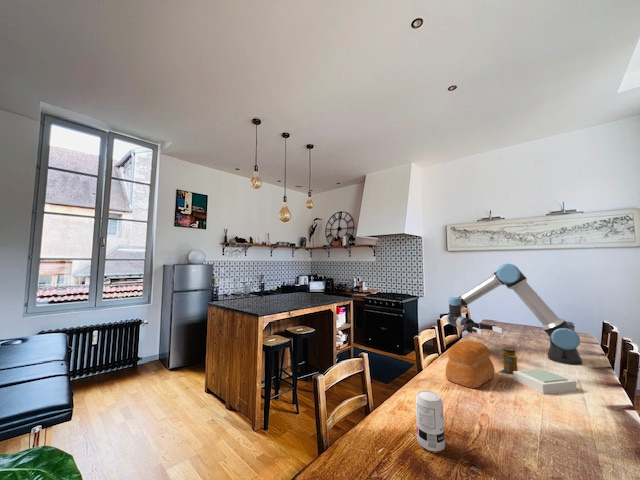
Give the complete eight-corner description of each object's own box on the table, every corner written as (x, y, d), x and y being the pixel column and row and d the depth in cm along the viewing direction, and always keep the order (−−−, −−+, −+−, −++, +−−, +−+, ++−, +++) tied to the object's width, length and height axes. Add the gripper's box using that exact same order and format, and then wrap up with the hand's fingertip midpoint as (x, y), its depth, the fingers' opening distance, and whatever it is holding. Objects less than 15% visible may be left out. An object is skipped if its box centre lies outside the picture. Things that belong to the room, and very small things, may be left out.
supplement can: (413, 437, 88) (411, 390, 90) (436, 435, 89) (434, 389, 90) (424, 454, 80) (422, 402, 82) (450, 452, 81) (447, 401, 82)
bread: (442, 380, 132) (440, 344, 134) (465, 367, 148) (463, 335, 150) (476, 391, 120) (473, 352, 122) (497, 376, 136) (495, 341, 138)
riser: (543, 376, 134) (542, 367, 135) (576, 390, 120) (575, 379, 120) (513, 379, 131) (512, 370, 132) (543, 394, 116) (542, 383, 117)
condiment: (521, 373, 139) (519, 349, 141) (514, 376, 135) (512, 352, 136) (505, 368, 145) (503, 346, 147) (498, 372, 141) (496, 349, 142)
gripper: (482, 328, 174) (511, 337, 153) (448, 330, 170) (473, 339, 149) (482, 317, 175) (510, 324, 154) (448, 318, 171) (472, 325, 150)
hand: (492, 331), depth 152 cm, fingers open, 13 cm apart
